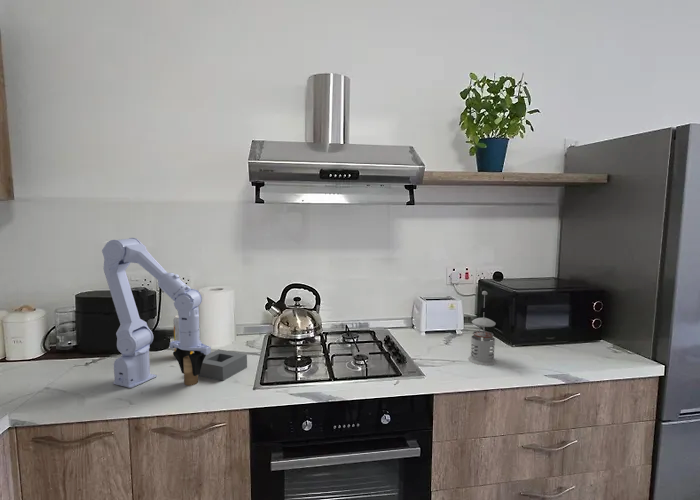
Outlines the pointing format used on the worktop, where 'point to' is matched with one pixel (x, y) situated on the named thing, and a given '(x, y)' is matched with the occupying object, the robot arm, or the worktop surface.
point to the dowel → (189, 372)
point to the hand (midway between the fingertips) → (190, 373)
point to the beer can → (177, 330)
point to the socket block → (222, 364)
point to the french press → (482, 342)
